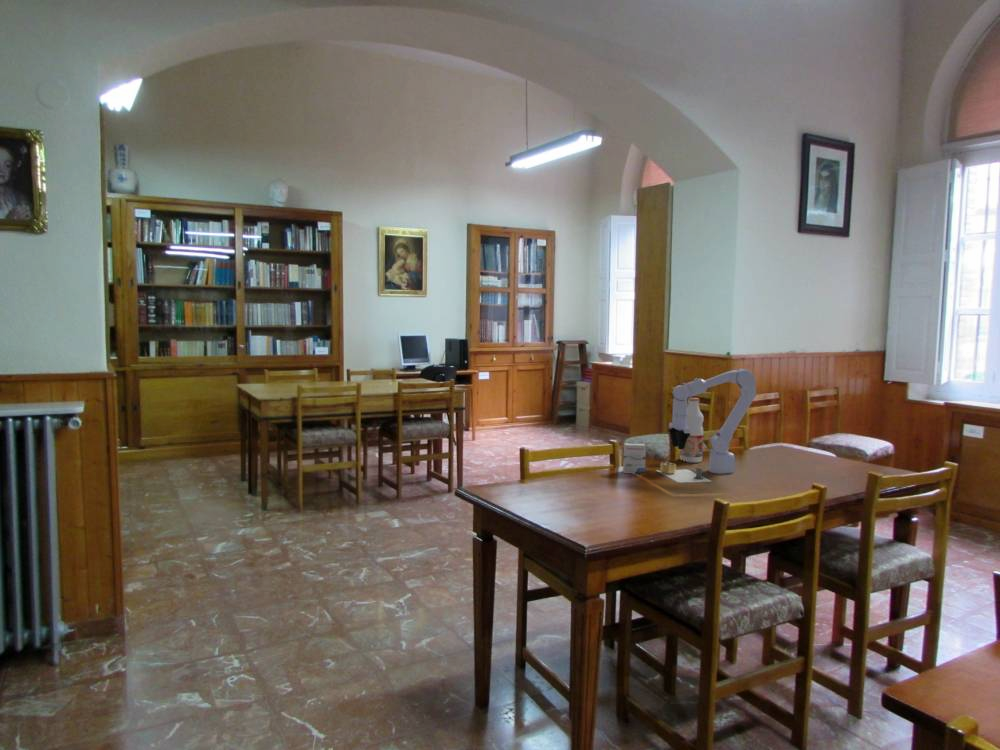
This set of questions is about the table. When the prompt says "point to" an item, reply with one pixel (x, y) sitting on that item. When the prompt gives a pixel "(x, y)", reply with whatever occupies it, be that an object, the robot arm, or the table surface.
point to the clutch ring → (668, 468)
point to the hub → (668, 464)
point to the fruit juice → (693, 433)
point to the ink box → (634, 458)
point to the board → (687, 476)
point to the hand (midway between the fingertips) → (678, 447)
